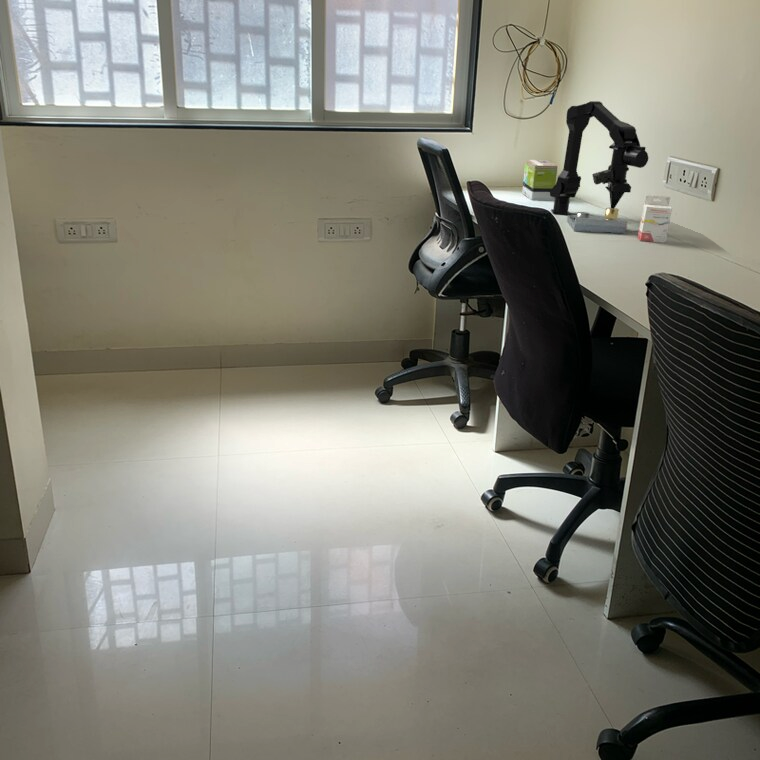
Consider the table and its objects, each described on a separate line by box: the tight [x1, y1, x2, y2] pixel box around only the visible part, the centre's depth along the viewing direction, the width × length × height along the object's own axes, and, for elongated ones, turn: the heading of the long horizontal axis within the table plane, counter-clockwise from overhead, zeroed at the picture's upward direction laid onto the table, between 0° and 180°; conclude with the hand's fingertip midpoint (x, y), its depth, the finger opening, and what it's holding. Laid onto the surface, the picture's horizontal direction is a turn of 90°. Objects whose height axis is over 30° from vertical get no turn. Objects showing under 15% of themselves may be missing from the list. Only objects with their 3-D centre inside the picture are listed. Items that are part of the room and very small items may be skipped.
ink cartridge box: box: [637, 194, 673, 243], centre depth 263 cm, size 9×5×15 cm, turn 84°
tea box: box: [521, 159, 558, 202], centre depth 330 cm, size 15×10×15 cm, turn 6°
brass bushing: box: [604, 207, 620, 220], centre depth 280 cm, size 4×4×7 cm
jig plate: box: [566, 214, 628, 234], centre depth 280 cm, size 16×18×4 cm
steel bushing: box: [576, 211, 591, 218], centre depth 280 cm, size 4×4×5 cm
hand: (612, 208), depth 278 cm, fingers closed
